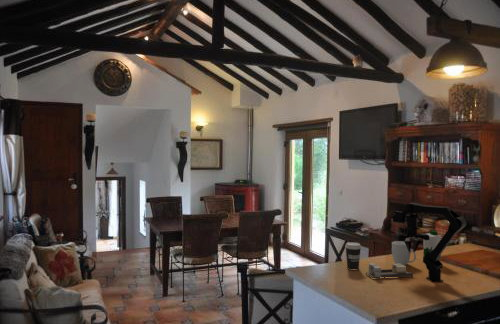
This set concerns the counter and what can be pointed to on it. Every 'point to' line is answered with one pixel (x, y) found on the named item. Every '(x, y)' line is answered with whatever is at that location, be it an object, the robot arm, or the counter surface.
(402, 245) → the mug
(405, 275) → the track
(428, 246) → the milk carton
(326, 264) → the counter surface
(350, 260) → the coffee cup
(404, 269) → the block
